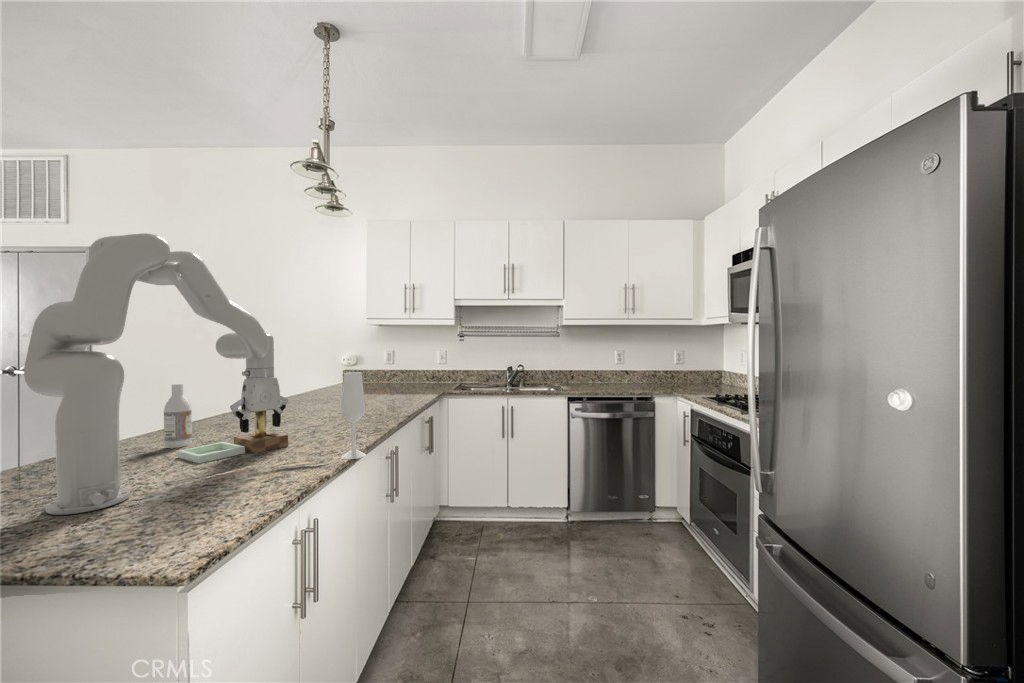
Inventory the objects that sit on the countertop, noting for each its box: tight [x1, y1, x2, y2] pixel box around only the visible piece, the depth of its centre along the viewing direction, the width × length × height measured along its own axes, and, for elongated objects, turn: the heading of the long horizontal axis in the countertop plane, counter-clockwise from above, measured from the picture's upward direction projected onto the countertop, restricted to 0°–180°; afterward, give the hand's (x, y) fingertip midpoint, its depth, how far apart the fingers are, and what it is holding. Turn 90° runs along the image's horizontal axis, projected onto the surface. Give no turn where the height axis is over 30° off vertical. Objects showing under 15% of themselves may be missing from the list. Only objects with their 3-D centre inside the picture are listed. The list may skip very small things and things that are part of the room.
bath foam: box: [163, 383, 193, 449], centre depth 139 cm, size 7×7×20 cm
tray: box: [177, 441, 246, 464], centre depth 127 cm, size 12×12×2 cm
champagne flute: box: [340, 371, 367, 460], centre depth 127 cm, size 7×7×24 cm
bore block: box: [233, 430, 289, 454], centre depth 136 cm, size 12×10×4 cm
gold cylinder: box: [254, 411, 267, 438], centre depth 136 cm, size 3×3×12 cm
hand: (261, 429), depth 136 cm, fingers open, 9 cm apart
